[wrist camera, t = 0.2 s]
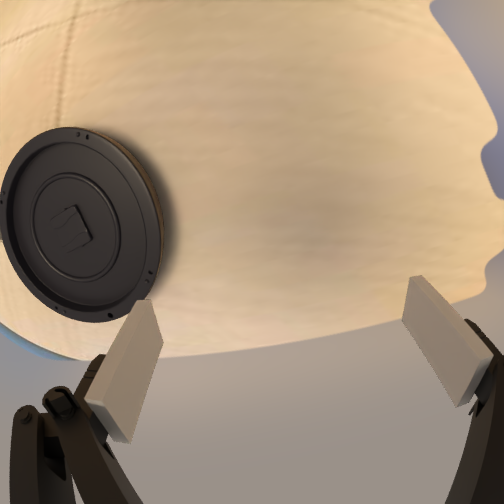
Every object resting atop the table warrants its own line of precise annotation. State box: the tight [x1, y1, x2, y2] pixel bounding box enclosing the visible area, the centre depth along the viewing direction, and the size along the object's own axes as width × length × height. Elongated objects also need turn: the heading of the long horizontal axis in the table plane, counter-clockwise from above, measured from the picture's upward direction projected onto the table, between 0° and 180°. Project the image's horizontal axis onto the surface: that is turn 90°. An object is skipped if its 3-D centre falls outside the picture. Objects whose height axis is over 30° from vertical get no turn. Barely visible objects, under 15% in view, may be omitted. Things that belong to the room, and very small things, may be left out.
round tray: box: [0, 127, 164, 323], centre depth 39 cm, size 30×6×30 cm
